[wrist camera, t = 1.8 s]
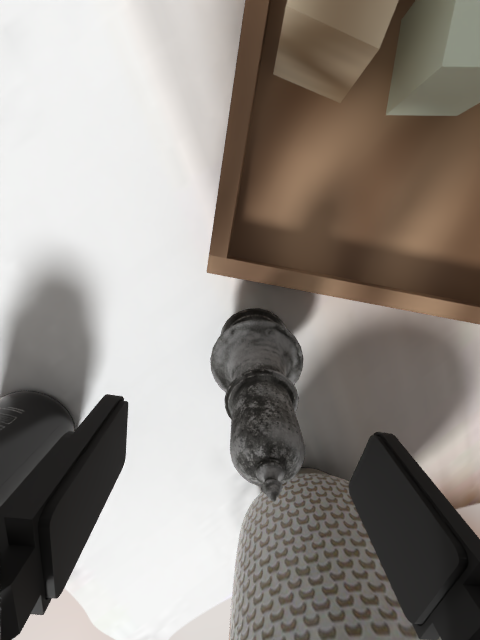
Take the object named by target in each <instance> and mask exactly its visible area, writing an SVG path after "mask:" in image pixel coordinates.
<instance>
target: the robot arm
mask: <svg viewBox="0 0 480 640" xmlns="http://www.w3.org/2000/svg"><path fill="white" fill-rule="evenodd" d="M127 418H128V402H127V401H124V398H123V397H122V396H115V395H108V394H107V395H105V396H104V397H103V398H102V399H101V400H100V401H99V403H98V404H97V405H96V406H95V408H94V409H93V410H92V411H91V412H90V414H89V415H88V416H87V417H86V418H85V420H84V421H83V422H82V423H81V424H80V426H79V427H78V428H77V429H76V430H75V432H74V431H68V432H66V433H65V434H64V435H63V436H62V437H61V438H60V439H59V440H58V441H57V443H56V444H55V445H54V446H53V447H52V448H51V449H50V451H49V452H48V453H47V454H46V455H45V456H44V457H43V459H42V460H41V461H40V462H39V463H38V464H37V465H36V467H35V468H34V469H33V470H32V471H31V472H30V473H29V475H28V476H27V477H26V478H25V479H24V480H23V481H22V483H21V484H20V485H19V486H18V487H17V488H16V489H15V491H14V492H13V493H12V494H11V495H10V496H9V498H8V499H7V500H6V501H5V502H4V503H3V504H2V506H1V507H0V640H14V638H15V637H16V636H17V635H18V634H20V632H21V630H22V628H23V627H24V625H25V623H26V621H27V619H28V617H29V616H30V614H37V615H43V614H44V613H45V611H46V609H47V607H48V605H49V603H50V601H51V599H52V598H58V597H59V596H60V594H61V593H62V591H63V589H64V587H65V585H66V583H67V581H68V579H69V577H70V575H71V573H72V571H73V569H74V567H75V565H76V563H77V561H78V559H79V556H80V554H81V552H82V550H83V548H84V546H85V544H86V542H87V540H88V538H89V536H90V534H91V532H92V530H93V528H94V526H95V524H96V522H97V520H98V517H99V515H100V513H101V511H102V509H103V507H104V505H105V503H106V501H107V499H108V497H109V495H110V493H111V491H112V489H113V487H114V485H115V483H116V480H117V478H118V476H119V474H120V472H121V470H122V468H123V465H124V462H125V456H126V437H127ZM349 494H350V497H351V499H352V501H353V503H354V505H355V508H356V510H357V512H358V514H359V516H360V519H361V521H362V523H363V525H364V527H365V530H366V532H367V534H368V536H369V538H370V541H371V543H372V545H373V547H374V549H375V552H376V554H377V556H378V558H379V560H380V563H381V565H382V567H383V569H384V571H385V574H386V576H387V578H388V580H389V582H390V585H391V587H392V589H393V591H394V593H395V596H396V598H397V600H398V602H399V604H400V607H401V609H402V611H403V613H404V615H405V617H406V618H407V620H408V621H409V622H410V623H412V625H413V627H414V629H415V631H416V634H417V636H418V638H419V639H420V640H438V639H439V637H440V638H441V640H480V539H479V538H478V537H477V535H476V534H475V533H474V532H473V530H472V529H471V528H470V527H469V526H468V525H467V523H466V522H465V521H464V520H463V519H462V517H461V516H460V515H459V514H458V512H457V511H456V510H455V509H454V507H453V506H452V505H451V504H450V502H449V501H448V500H447V499H446V498H445V496H444V495H443V494H442V493H441V492H440V490H439V489H438V488H437V487H436V485H435V484H434V483H433V482H432V481H431V479H430V478H429V477H428V476H427V474H426V473H425V472H424V471H423V470H422V468H421V467H420V466H419V465H418V463H417V462H416V461H415V460H414V459H413V457H412V456H411V455H410V454H409V453H408V451H407V450H406V449H405V448H404V446H403V445H402V444H401V443H400V442H399V440H398V439H397V438H396V437H395V436H394V435H393V434H388V433H381V432H376V433H374V435H372V436H371V437H370V438H369V440H368V443H367V445H366V447H365V449H364V452H363V454H362V456H361V458H360V461H359V463H358V465H357V467H356V469H355V472H354V474H353V476H352V478H351V481H350V483H349Z"/></svg>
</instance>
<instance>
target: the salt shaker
mask: <svg viewBox="0 0 480 640" xmlns="http://www.w3.org/2000/svg"><path fill="white" fill-rule="evenodd" d="M302 368H303V354H302V350H301V346H300V345H299V343H298V341H297V339H296V338H295V336H294V335H293V334H292V333H291V332H290V331H289V330H288V329H287V328H285V326H284V324H283V322H282V321H281V320H280V319H279V318H278V317H277V316H276V315H274V314H272V313H271V312H269V311H266V310H262V309H247V310H243V311H240V312H238V313H237V314H235V315H233V316H232V317H231V318H230V319H229V320H228V321H227V322H226V323H225V325H224V327H223V329H222V331H221V336H220V337H219V338H218V340H217V342H216V343H215V345H214V347H213V350H212V355H211V371H212V373H213V376H214V379H215V381H216V382H217V383H218V385H219V386H220V388H221V389H222V390H224V391H225V392H226V395H225V408H226V411H227V414H228V416H229V417H230V418H231V420H232V422H231V440H230V454H231V458H232V462H233V464H234V467H235V468H236V470H237V471H238V472H239V473H240V475H241V476H242V477H243V478H245V479H246V480H247V481H249V482H250V483H253V484H255V485H258V486H261V489H262V492H263V493H265V494H266V496H267V497H268V498H269V499H271V501H273V502H274V501H276V498H277V497H278V496H279V494H280V492H281V491H282V489H283V486H282V484H284V483H286V482H288V481H290V480H291V479H292V478H294V476H295V475H296V474H297V473H298V472H299V470H300V468H301V466H302V464H303V461H304V457H305V445H304V441H303V437H302V434H301V430H300V427H299V424H298V421H297V418H296V414H295V413H296V410H297V408H298V394H297V390H296V388H295V386H294V385H295V383H296V382H297V380H298V379H299V377H300V374H301V371H302Z"/></svg>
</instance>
